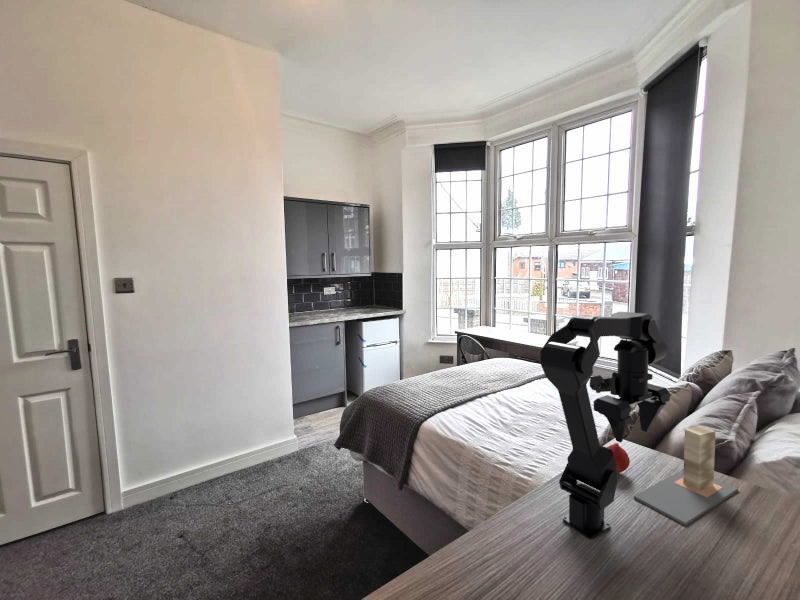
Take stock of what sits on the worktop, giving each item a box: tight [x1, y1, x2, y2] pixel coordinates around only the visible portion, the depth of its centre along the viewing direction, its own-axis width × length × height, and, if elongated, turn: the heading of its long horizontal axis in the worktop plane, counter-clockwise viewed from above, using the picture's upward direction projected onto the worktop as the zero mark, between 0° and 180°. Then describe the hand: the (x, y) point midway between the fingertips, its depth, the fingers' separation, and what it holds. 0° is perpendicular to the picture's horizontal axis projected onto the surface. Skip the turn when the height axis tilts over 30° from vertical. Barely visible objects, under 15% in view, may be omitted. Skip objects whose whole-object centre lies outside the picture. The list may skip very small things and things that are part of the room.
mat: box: [633, 468, 739, 526], centre depth 82 cm, size 22×10×1 cm, turn 117°
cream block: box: [683, 425, 716, 491], centre depth 84 cm, size 5×3×13 cm, turn 109°
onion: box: [606, 442, 631, 475], centre depth 91 cm, size 6×6×8 cm
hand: (631, 436), depth 83 cm, fingers open, 9 cm apart
